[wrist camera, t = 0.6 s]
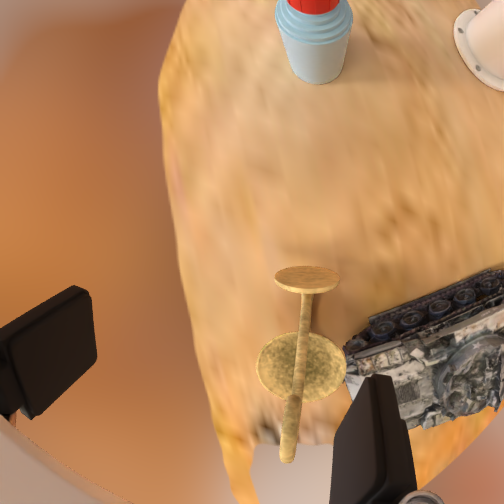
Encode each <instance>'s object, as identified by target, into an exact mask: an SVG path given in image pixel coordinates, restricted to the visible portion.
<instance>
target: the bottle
mask: <svg viewBox="0 0 504 504" xmlns="http://www.w3.org/2000/svg"><path fill="white" fill-rule="evenodd" d="M275 19H276V22H277V25H278V28H279V31H280V34H281V37H282V40H283V43H284V46H285V49H286V52H287V56H288V59H289V62H290V65H291V68H292V70H293V72H294V73H295V74H296V75H297V76H298V77H299V78H300V79H302V80H303V81H305V82H308V83H311V84H325V83H328V82H331V81H333V80H334V79H335V78H337V77H338V75H339V74H340V73H341V70H342V67H343V63H344V59H345V54H346V50H347V45H348V41H349V36H350V32H351V27H352V22H353V13H352V10H351V8H350V5H349V4H348V2H347V0H339V3H338V5H337V6H336V7H335V8H334V9H333V10H331V11H330V12H327V13H324V14H320V15H310V14H305V13H302V12H299V11H297V10H295V9H294V8H292V7H291V6H290V5H289V4H288V2H287V0H278V2H277V5H276V8H275Z"/></svg>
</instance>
